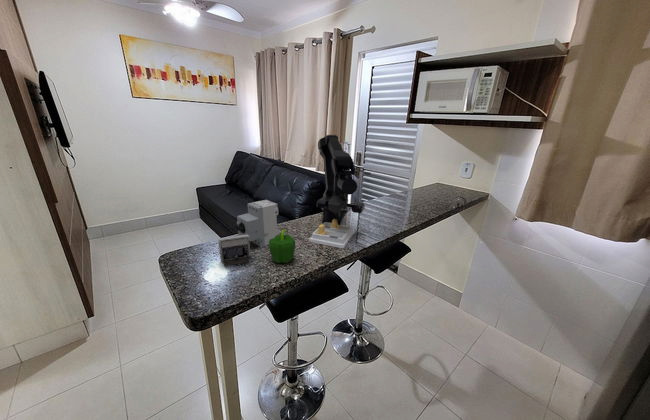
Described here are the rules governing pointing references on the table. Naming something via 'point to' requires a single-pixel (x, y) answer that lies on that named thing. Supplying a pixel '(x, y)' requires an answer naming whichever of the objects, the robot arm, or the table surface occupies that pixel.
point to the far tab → (334, 224)
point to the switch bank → (333, 235)
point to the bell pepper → (282, 248)
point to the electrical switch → (234, 249)
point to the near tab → (321, 229)
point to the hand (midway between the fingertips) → (339, 224)
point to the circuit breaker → (259, 222)
